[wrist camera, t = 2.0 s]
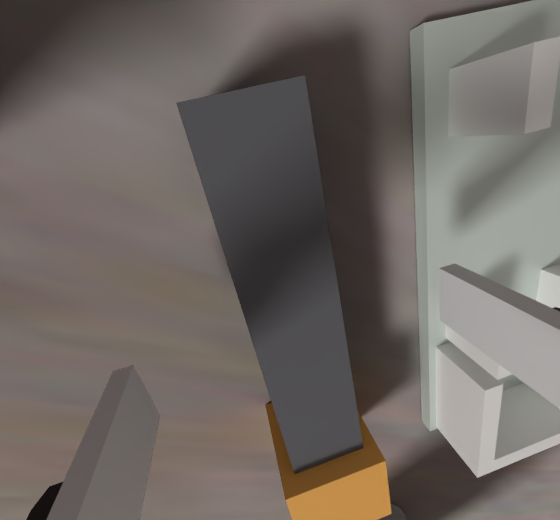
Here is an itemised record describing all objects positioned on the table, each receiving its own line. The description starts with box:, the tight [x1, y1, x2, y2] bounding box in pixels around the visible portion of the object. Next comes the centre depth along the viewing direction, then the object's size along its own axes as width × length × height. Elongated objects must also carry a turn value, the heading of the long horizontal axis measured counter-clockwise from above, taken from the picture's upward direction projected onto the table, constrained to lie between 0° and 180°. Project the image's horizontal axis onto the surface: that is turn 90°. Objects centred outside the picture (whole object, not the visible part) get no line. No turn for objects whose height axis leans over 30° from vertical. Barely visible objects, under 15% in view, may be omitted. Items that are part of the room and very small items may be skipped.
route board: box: [410, 0, 560, 478], centre depth 18 cm, size 27×11×5 cm, turn 13°
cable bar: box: [177, 75, 392, 520], centre depth 15 cm, size 23×6×6 cm, turn 13°
